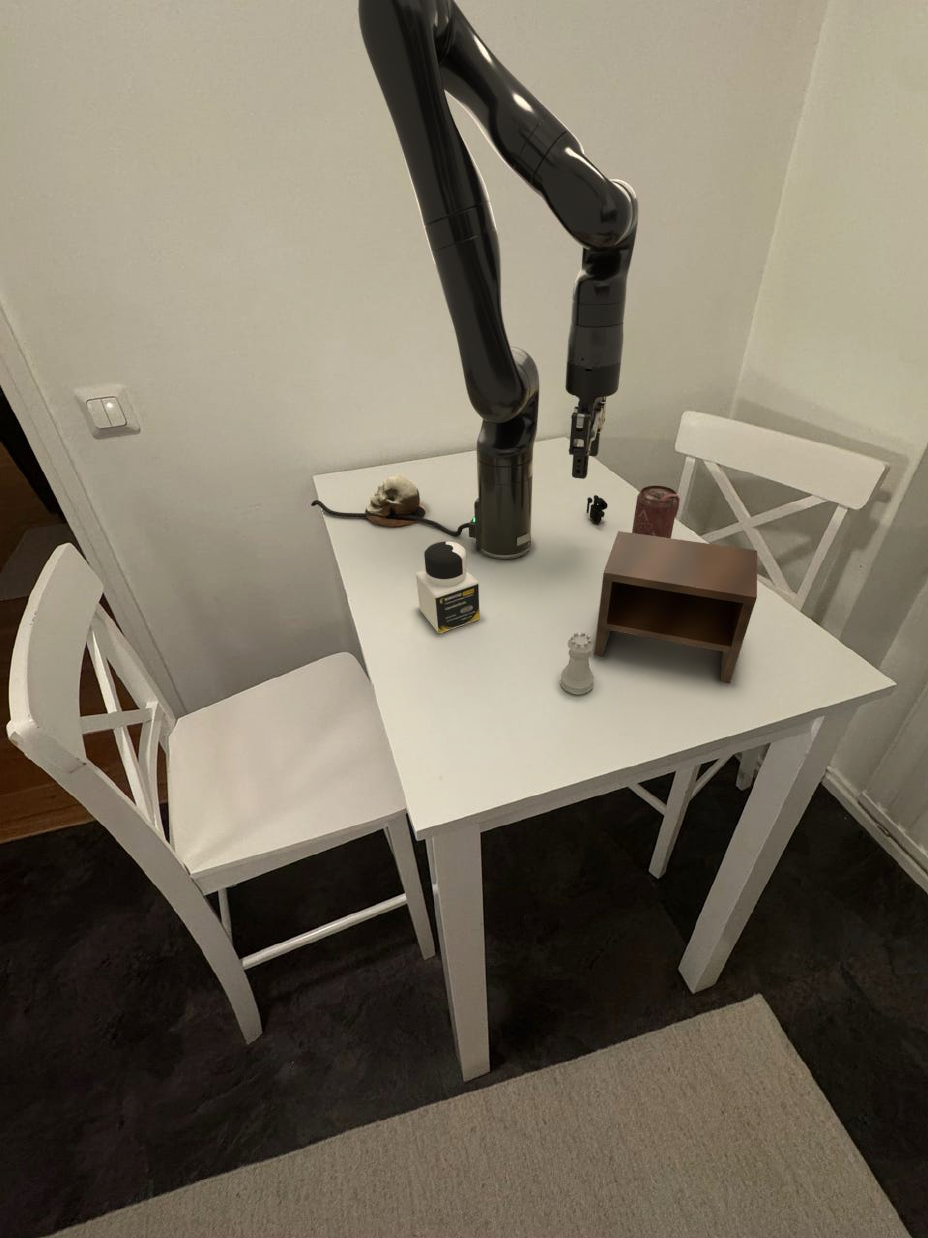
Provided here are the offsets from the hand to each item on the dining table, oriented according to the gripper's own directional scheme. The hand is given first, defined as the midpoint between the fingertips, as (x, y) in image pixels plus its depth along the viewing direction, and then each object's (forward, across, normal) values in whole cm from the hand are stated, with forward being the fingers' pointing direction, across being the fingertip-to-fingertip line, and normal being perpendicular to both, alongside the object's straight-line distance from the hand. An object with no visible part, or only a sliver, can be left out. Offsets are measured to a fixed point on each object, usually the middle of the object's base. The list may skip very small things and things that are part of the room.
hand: (585, 465), depth 94 cm
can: (+17, 0, +12) cm, 21 cm away
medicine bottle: (+17, +22, -15) cm, 32 cm away
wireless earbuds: (+17, -14, +1) cm, 23 cm away
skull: (+17, -6, -38) cm, 43 cm away
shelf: (+17, +18, +17) cm, 30 cm away
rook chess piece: (+17, +30, +7) cm, 36 cm away
